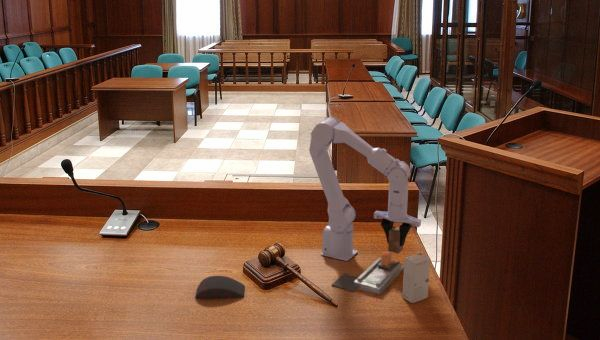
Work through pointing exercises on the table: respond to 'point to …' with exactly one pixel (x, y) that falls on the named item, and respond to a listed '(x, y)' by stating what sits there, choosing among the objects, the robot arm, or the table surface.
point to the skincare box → (416, 277)
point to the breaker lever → (386, 260)
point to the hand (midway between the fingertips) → (395, 243)
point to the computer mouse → (219, 288)
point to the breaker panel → (377, 277)
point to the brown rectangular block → (394, 240)
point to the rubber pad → (346, 282)
